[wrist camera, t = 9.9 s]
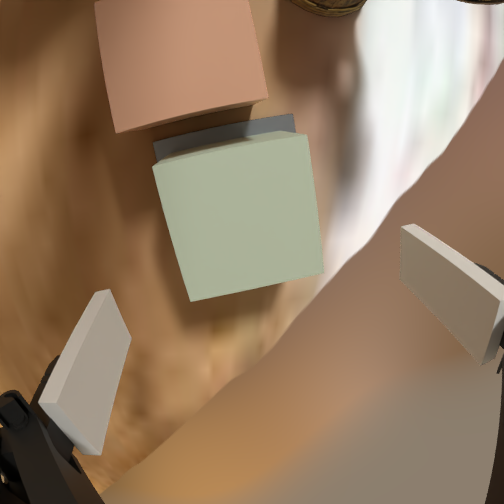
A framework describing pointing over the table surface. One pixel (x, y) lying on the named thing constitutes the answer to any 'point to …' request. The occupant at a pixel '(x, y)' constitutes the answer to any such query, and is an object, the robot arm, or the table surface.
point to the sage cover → (242, 213)
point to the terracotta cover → (177, 59)
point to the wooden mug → (354, 6)
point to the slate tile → (223, 134)
